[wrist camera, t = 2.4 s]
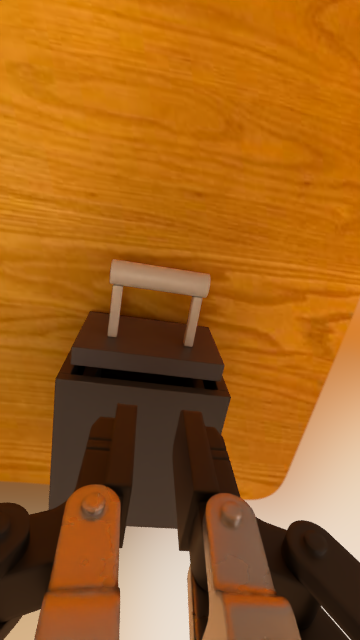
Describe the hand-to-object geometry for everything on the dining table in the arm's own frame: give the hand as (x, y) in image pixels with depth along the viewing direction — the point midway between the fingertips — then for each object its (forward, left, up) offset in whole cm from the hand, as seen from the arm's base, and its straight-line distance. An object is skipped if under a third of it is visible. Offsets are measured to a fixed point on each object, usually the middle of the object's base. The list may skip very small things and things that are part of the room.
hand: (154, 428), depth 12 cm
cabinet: (+5, +7, -15) cm, 17 cm away
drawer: (+2, +3, -14) cm, 15 cm away
